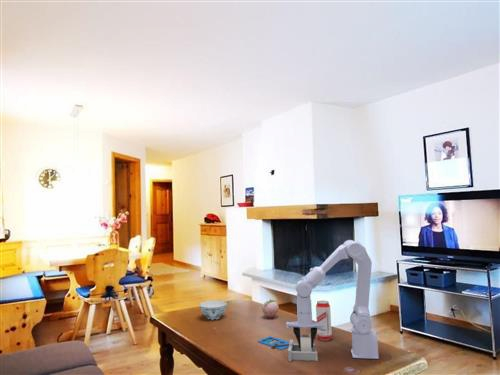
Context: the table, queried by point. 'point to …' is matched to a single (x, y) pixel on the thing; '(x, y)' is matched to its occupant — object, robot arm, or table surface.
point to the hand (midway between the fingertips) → (306, 347)
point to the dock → (300, 353)
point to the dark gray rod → (280, 345)
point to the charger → (305, 342)
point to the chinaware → (213, 309)
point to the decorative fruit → (270, 308)
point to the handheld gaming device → (274, 342)
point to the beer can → (324, 320)
